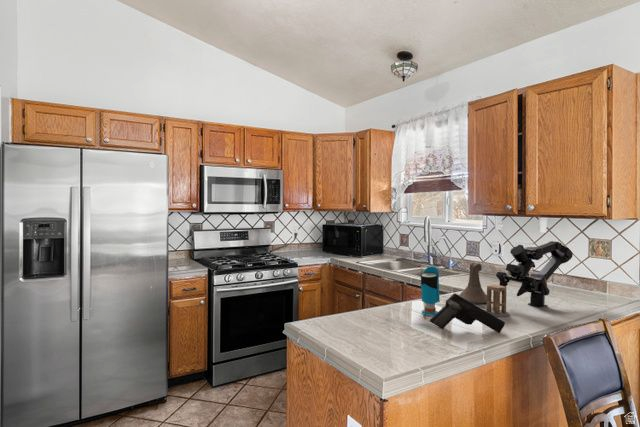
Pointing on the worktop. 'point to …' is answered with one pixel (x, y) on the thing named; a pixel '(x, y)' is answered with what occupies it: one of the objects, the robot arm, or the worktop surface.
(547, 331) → the worktop surface
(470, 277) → the sculpture
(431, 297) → the security camera
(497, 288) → the stool
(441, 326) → the handgun
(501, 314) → the mat
